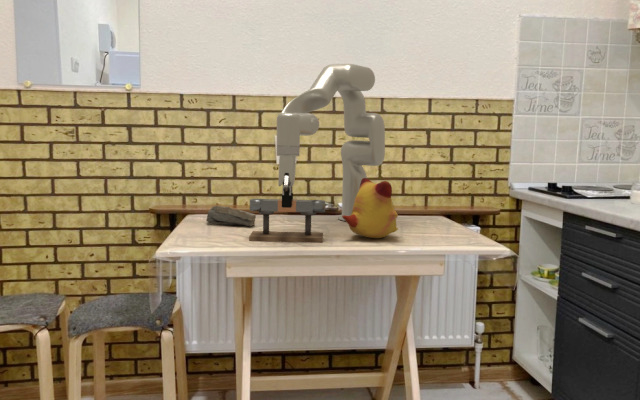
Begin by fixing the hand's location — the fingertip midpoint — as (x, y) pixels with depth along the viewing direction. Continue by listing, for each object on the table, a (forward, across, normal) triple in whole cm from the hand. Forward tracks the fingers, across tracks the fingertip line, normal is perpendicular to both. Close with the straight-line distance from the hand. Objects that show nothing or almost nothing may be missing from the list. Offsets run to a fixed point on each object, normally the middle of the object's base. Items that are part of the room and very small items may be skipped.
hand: (287, 205), depth 190 cm
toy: (+12, -4, +27) cm, 30 cm away
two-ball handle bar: (+2, 0, 0) cm, 2 cm away
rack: (+11, 0, 0) cm, 11 cm away
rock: (+12, -23, -23) cm, 35 cm away
